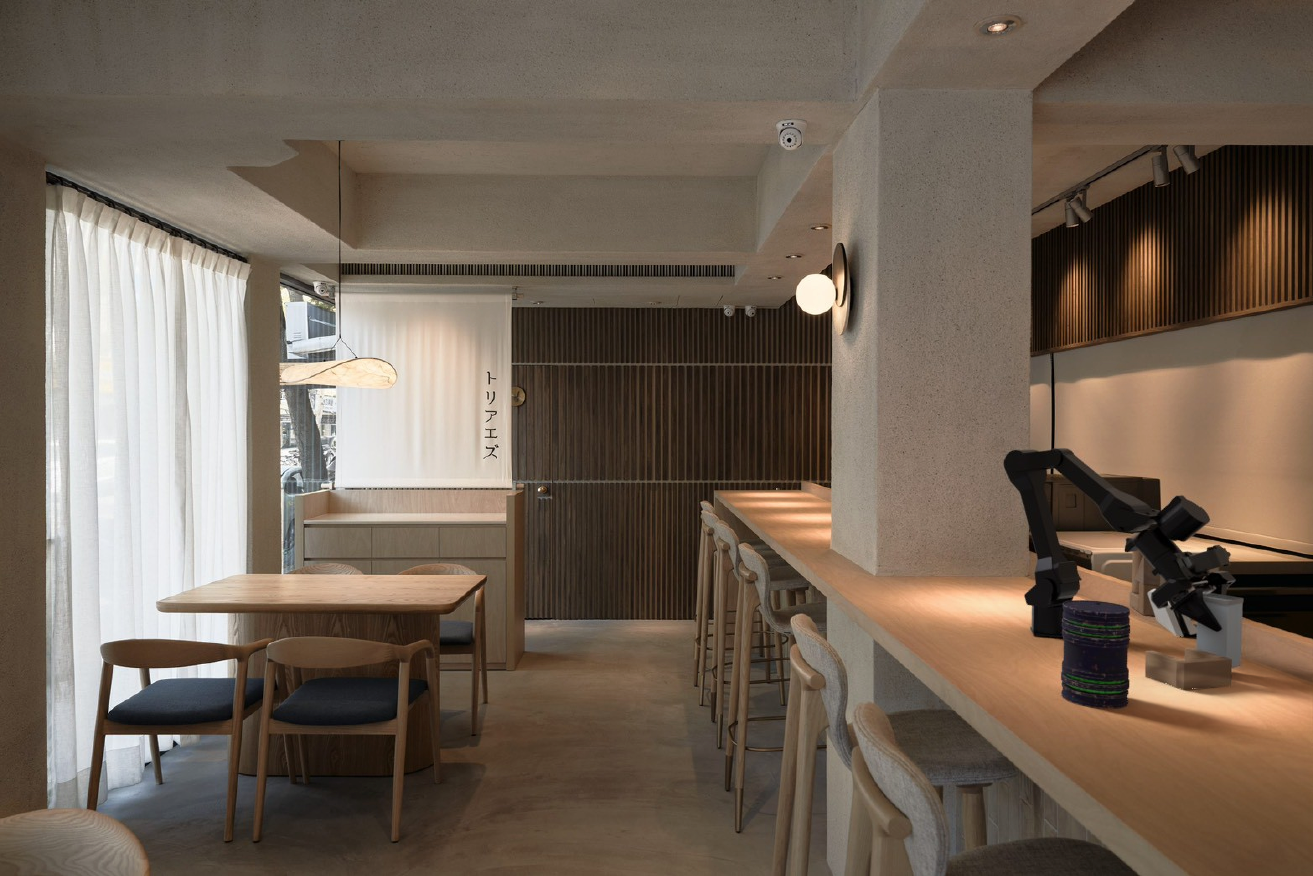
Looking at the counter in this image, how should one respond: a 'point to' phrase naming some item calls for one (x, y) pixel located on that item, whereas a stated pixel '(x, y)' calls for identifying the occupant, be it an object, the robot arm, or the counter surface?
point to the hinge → (1173, 619)
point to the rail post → (1223, 628)
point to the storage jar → (1095, 654)
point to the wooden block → (1142, 583)
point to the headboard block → (1189, 669)
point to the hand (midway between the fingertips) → (1227, 628)
